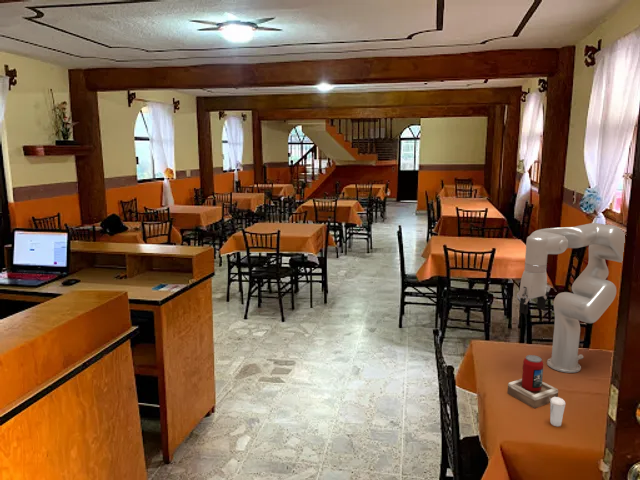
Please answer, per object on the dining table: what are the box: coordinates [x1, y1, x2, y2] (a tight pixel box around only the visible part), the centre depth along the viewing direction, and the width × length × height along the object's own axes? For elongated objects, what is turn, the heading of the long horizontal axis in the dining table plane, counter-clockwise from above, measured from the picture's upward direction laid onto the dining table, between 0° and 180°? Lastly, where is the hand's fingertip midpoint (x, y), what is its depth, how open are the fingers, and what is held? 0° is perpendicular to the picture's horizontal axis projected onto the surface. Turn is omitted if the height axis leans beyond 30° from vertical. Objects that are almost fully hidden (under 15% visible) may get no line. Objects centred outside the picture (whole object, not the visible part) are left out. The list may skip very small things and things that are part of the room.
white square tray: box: [507, 378, 559, 409], centre depth 179 cm, size 12×12×4 cm
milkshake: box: [549, 396, 566, 427], centre depth 161 cm, size 4×5×10 cm
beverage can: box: [521, 354, 544, 392], centre depth 178 cm, size 7×7×12 cm
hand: (532, 311), depth 188 cm, fingers open, 9 cm apart
